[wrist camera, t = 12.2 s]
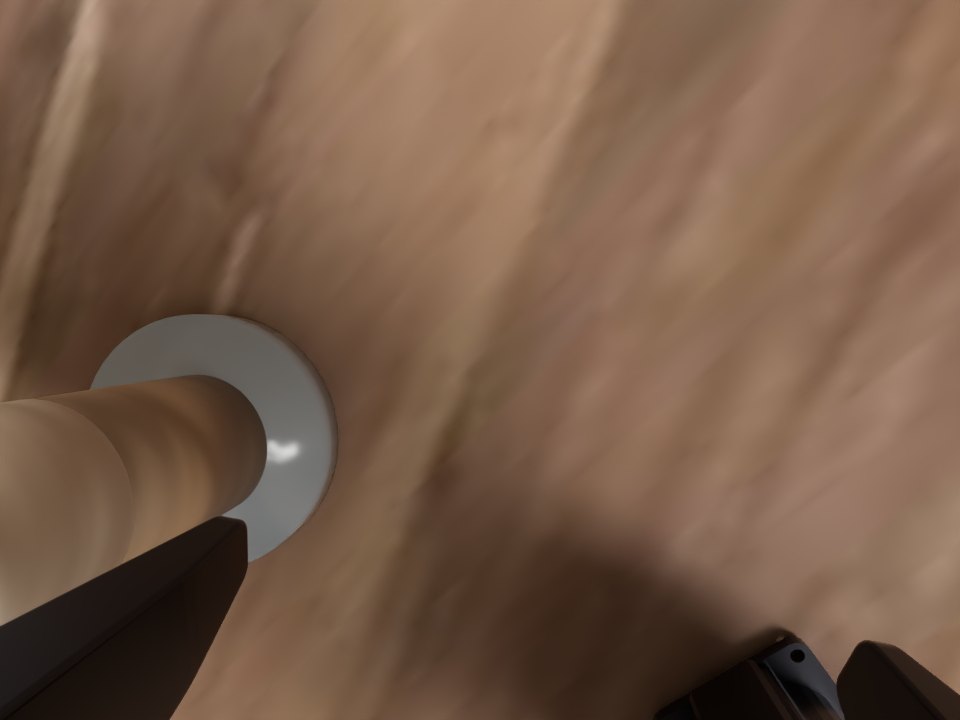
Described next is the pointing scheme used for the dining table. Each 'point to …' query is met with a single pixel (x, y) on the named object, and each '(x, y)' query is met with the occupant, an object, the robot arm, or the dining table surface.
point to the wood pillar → (116, 477)
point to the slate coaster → (272, 391)
